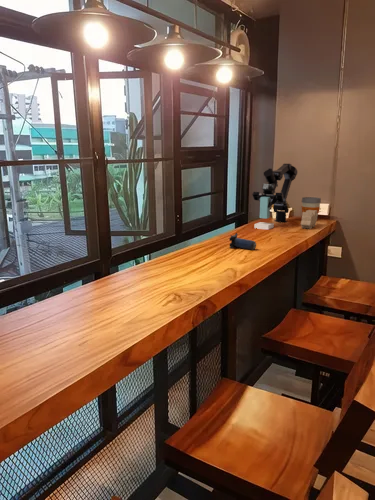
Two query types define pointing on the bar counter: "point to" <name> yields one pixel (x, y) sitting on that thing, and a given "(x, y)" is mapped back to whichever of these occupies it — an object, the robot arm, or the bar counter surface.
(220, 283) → the bar counter surface
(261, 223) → the base brick
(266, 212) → the teal column
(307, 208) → the reusable coffee cup
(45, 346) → the bar counter surface
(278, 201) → the robot arm
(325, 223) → the bar counter surface
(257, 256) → the bar counter surface
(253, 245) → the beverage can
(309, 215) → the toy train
